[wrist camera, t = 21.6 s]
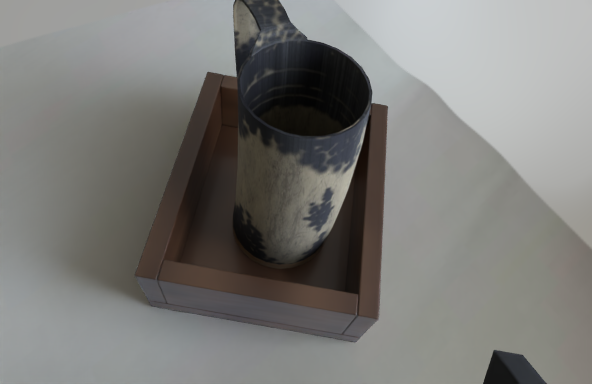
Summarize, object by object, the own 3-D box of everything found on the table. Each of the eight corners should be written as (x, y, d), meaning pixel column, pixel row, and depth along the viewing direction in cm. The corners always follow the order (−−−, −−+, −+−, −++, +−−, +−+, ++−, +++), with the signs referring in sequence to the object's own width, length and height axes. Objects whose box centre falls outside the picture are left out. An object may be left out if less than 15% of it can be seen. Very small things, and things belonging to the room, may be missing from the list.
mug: (346, 247, 25) (422, 100, 15) (259, 288, 23) (277, 153, 13) (282, 145, 28) (308, -33, 18) (201, 174, 26) (180, -5, 16)
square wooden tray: (150, 306, 23) (133, 275, 19) (211, 120, 30) (207, 71, 26) (356, 342, 23) (379, 319, 20) (369, 150, 30) (388, 105, 26)
